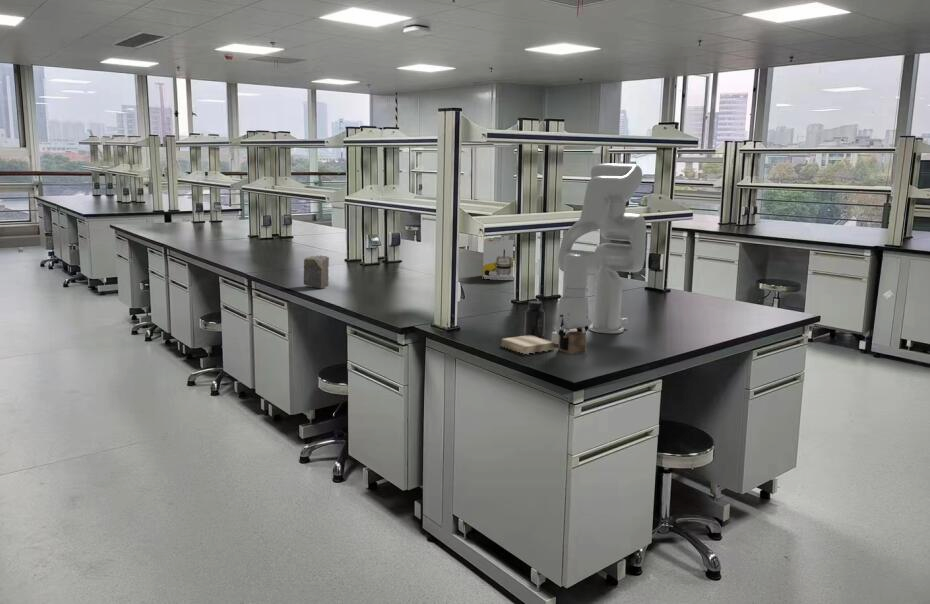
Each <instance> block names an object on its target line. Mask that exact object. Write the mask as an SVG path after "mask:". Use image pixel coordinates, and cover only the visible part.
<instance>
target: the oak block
mask: <svg viewBox="0 0 930 604" xmlns="http://www.w3.org/2000/svg"><path fill="white" fill-rule="evenodd" d="M501 347H502V348H504V347H505V349H507V348H508V349H507V350H510V349H511V350H510V351H514V352H515V351H516V352H515V353H518V352H520V353H519V354H521V353H523V354H522V355H524V354H527V355H530V354H529V353H533V354H536V353H535V352H539V353H543V352H542V351H545V352H549V351H548V350H551V351H554V350H555V344H554V342H551V340H548V339H544V338H543V337H540V338H539V337H536V336H532V335H525V334H524V335H518V336H513V337H504V338H501Z"/></svg>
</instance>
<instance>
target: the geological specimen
mask: <svg viewBox="0 0 930 604" xmlns="http://www.w3.org/2000/svg"><path fill="white" fill-rule="evenodd" d="M329 261H330V258H329V256H324V255H312V256H308V257H305V258H304V259H303V285H305V286H309V287H312V288H315V289H325V288H327V287H328V286H329V278H330V277H329V267H330V266H329V265H330V264H329Z"/></svg>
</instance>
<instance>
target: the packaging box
mask: <svg viewBox="0 0 930 604" xmlns="http://www.w3.org/2000/svg"><path fill="white" fill-rule="evenodd" d="M513 244H514V236H504V237H494V238H486V239H484V238H483V248H482V249H483V251H482V252H483V253H482V255H483V256H482V261H483V262H482V278H483V277H513Z"/></svg>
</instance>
